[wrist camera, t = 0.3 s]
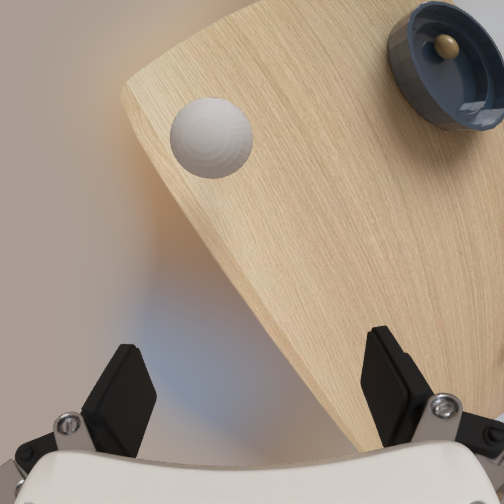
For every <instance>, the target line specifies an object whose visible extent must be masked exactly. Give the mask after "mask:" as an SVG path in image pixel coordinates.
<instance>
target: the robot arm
mask: <svg viewBox="0 0 504 504" xmlns="http://www.w3.org/2000/svg"><path fill="white" fill-rule="evenodd" d="M361 388H362V390H363V393H364V396H365V398H366V401H367V404H368V406H369V409H370V412H371V414H372V417H373V420H374V422H375V425H376V428H377V431H378V433H379V436H380V439H381V442H382V445H383V447H384V448H382V449H377V450H373V451H368V452H364V453H358V454H353V455H348V456H342V457H336V458H330V459H323V460H316V461H309V462H300V463H289V464H278V465H259V466H208V465H189V464H177V463H167V462H159V461H151V460H144V459H136V456H137V454H138V451H139V448H140V445H141V442H142V439H143V436H144V433H145V430H146V428H147V425H148V422H149V419H150V416H151V413H152V411H153V408H154V405H155V402H156V398H157V395H156V391H155V389H154V386H153V384H152V382H151V379H150V376H149V374H148V371H147V368H146V366H145V363H144V361H143V358H142V355H141V352H140V350H139V348H136V346H135V345H133V344H121V345H120V346H119V347H118V349H117V350H116V352H115V354H114V355H113V357H112V359H111V360H110V362H109V364H108V365H107V367H106V368H105V370H104V371H103V373H102V375H101V376H100V378H99V380H98V381H97V383H96V385H95V386H94V388H93V390H92V391H91V393H90V395H89V396H88V398H87V400H86V402H85V403H84V405H83V407H82V411H81V413H80V414H79V413H77V412H67V413H64V414H62V415H60V416H59V417H58V418H57V419H56V420H55V422H54V425H53V431H54V432H52V433H49V434H47V435H44V436H42V437H39V438H37V439H35V440H32V441H29V442H27V443H25V444H22V445H21V446H20V447H19V448H18V449H17V451H16V454H15V460H14V461H13V460H12V459H10V460H8V461H7V462H6V463H4V464H3V465H1V466H0V504H504V423H502V422H500V421H496V420H493V419H489V418H485V417H481V416H478V415H474V414H471V413H467V412H464V411H462V410H463V406H462V403H461V401H460V400H459V399H458V398H457V397H456V396H454V395H452V394H449V393H438V394H436V395H434V393H433V391H432V390H431V388H430V386H429V385H428V383H427V382H426V380H425V378H424V377H423V375H422V374H421V372H420V370H419V369H418V367H417V366H416V364H415V363H414V361H413V359H412V358H411V356H410V355H409V354H408V353H404V352H403V350H402V348H401V347H400V345H399V344H398V342H397V341H396V339H395V338H394V336H393V335H392V333H391V332H390V330H389V329H388V327H387V326H379V327H373V328H372V330H371V331H370V332H368V333H367V340H366V348H365V355H364V362H363V368H362V374H361Z"/></svg>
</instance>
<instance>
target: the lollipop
mask: <svg viewBox="0 0 504 504" xmlns="http://www.w3.org/2000/svg"><path fill="white" fill-rule="evenodd" d="M170 143H171V149H172V151H173V154H174V156H175V158H176V159H177V161H178V162H179V163H180V165H181V166H182V167H183V168H184V169H186V170H187V171H189V172H190V173H192V174H194V175H196V176H199V177H203V178H211V179H216V178H223V177H226V176H228V175H231V174H232V173H234V172H236V171H237V170H238V169H239V168H241V167H242V166H243V164H244V163H245V162H246V160H247V159H248V157H249V155H250V152H251V149H252V145H253V134H252V128H251V126H250V123H249V121H248V119H247V117H246V116H245V114H244V113H243V112H242V111H241V110H240V109H239V108H238V107H237V106H235V105H234V104H232V103H231V102H228V101H226V100H224V99H220V98H214V97H207V98H201V99H197V100H195V101H192V102H191V103H189V104H187V105H186V106H185V107H184V108H182V109H181V110H180V111H179V113H178V114H177V116H176V117H175V119H174V121H173V123H172V127H171V131H170Z"/></svg>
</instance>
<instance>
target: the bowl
mask: <svg viewBox="0 0 504 504" xmlns="http://www.w3.org/2000/svg"><path fill="white" fill-rule="evenodd" d="M439 35H448V36H450V37H452V38H453V39H454V40H455V41H456V42H457V44H458V47H459V53H458V56H457V57H456V58H454V59H451V60H448V59H444V58H442V57H441V56H439V55H438V54H437V52H436V51H435V48H434V40H435V38H436V37H437V36H439ZM388 54H389V59H390V64H391V69H392V71H393V74H394V76H395V79H396V81H397V84H398V86H399V87H400V89H401V90H402V92H403V94H404V95H405V97H406V99H407V100H408V101H409V102H410V103H411V105H412V106H413V107H414V108H415V109H416V110H417V111H418V112H419V114H420V115H422V116H423V117H424V118H426V119H427V120H428V121H430V122H431V123H432V124H434V125H436V126H439V127H441V128H443V129H445V130H451V131H485V130H489V129H493V128H494V127H496V126H497V125H498V124H499V123H501V122H502V120H503V118H504V61H503V58H502V56H501V53H500V52H499V50H498V48H497V46H496V45H495V43H494V41H493V39H492V38H491V37H490V35H489V34H488V33H487V32H486V30H485V29H484V28H483V27H482V26H481V25H480V24H479V23H478V22H477V21H476V20H475V19H474V18H473V17H472V16H470V15H469V14H468V13H466V12H465V11H463V10H462V9H460V8H458V7H456V6H454V5H451V4H448V3H446V2H441V1H428V2H425V3H422V4H419V5H418V6H417V7H416V8H414V9H413V10H412V11H411V12H409V13H408V14H407V15H406V16H404V17H403V18H402V19H401V20H400V21H399V22H398V23H397V24H396V25H395V26H394V27H393V30H392V32H391V34H390V37H389V49H388Z"/></svg>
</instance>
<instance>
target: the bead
mask: <svg viewBox="0 0 504 504" xmlns="http://www.w3.org/2000/svg"><path fill="white" fill-rule="evenodd" d="M434 48H435V51H436V52H437V54H438V55H439V56H441V57H442V58H444V59H448V60H451V59H454V58H456V57H457V56H458V53H459V47H458V44H457V42H456V41H455V40H454V39H453V38H452V37H450V36H448V35H439V36H437V37H436V38H435V40H434Z"/></svg>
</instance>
